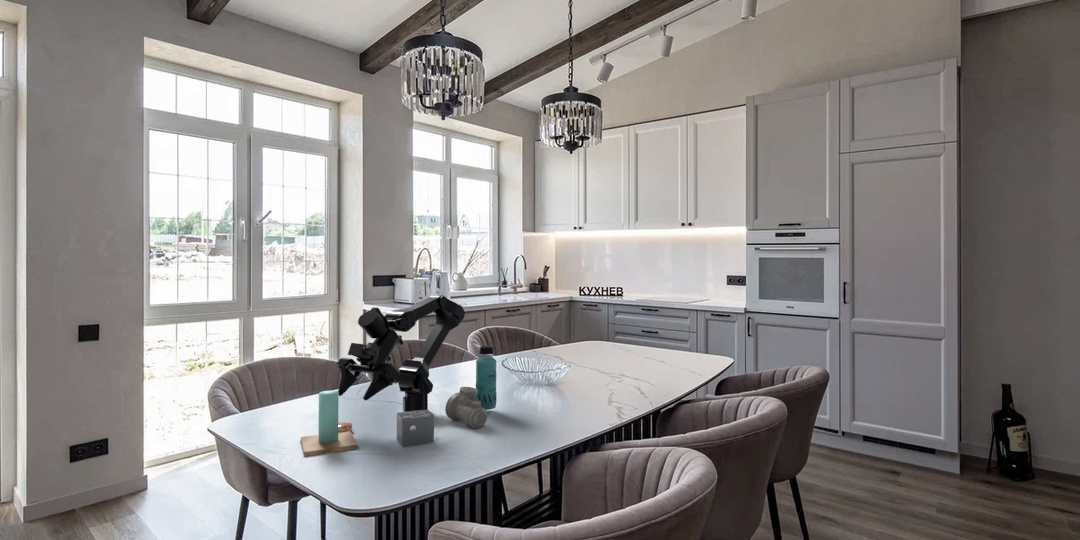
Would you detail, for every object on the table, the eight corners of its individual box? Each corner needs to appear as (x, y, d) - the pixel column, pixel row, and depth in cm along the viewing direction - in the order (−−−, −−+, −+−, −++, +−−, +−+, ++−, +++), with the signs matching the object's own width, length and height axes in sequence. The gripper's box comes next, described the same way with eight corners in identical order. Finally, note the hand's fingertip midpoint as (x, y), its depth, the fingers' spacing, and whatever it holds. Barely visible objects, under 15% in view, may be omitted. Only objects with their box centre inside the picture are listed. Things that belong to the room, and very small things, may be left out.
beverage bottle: (471, 413, 167) (471, 347, 166) (481, 408, 173) (481, 343, 172) (490, 416, 164) (490, 348, 164) (500, 410, 171) (500, 345, 170)
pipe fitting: (442, 420, 159) (447, 385, 158) (465, 417, 164) (470, 383, 163) (465, 435, 150) (470, 398, 149) (489, 431, 155) (494, 395, 154)
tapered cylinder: (340, 437, 141) (341, 390, 141) (334, 443, 137) (335, 394, 136) (322, 437, 141) (322, 390, 141) (315, 443, 137) (316, 394, 136)
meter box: (427, 435, 146) (427, 408, 146) (434, 443, 140) (434, 415, 140) (396, 439, 143) (396, 412, 143) (402, 448, 137) (402, 420, 136)
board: (349, 434, 147) (349, 430, 147) (357, 448, 136) (357, 444, 136) (300, 441, 141) (300, 437, 141) (304, 456, 131) (304, 452, 131)
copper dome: (346, 428, 153) (346, 420, 153) (356, 432, 149) (355, 425, 149) (324, 432, 149) (324, 425, 149) (334, 437, 144) (333, 429, 144)
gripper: (341, 328, 154) (308, 376, 144) (392, 333, 145) (360, 384, 136) (362, 352, 161) (333, 399, 152) (412, 358, 152) (384, 408, 143)
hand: (351, 397), depth 145 cm, fingers open, 9 cm apart
